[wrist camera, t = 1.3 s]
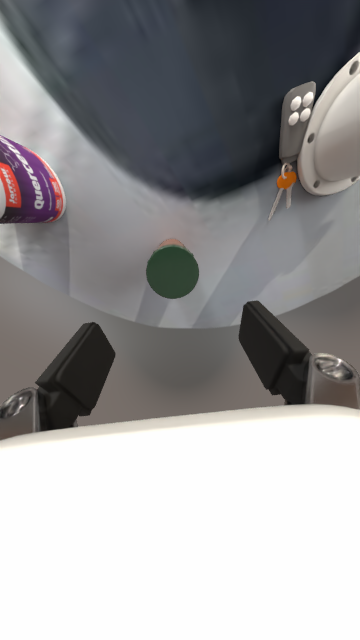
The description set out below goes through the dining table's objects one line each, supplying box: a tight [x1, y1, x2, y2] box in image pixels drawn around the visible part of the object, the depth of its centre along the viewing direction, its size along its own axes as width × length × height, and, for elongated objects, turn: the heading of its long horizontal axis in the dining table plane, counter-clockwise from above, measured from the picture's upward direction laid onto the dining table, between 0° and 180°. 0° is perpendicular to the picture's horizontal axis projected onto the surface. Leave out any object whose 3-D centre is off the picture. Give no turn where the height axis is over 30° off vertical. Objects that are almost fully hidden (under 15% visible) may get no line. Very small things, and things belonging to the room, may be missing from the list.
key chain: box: [268, 82, 316, 220], centre depth 21 cm, size 13×4×2 cm, turn 14°
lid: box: [146, 243, 199, 299], centre depth 19 cm, size 7×7×2 cm
